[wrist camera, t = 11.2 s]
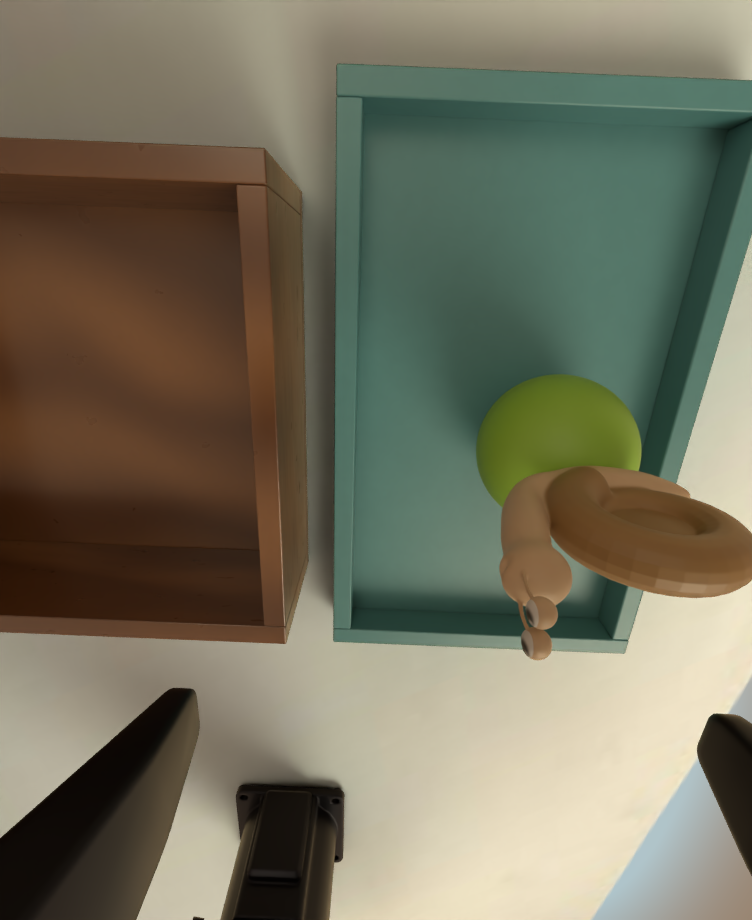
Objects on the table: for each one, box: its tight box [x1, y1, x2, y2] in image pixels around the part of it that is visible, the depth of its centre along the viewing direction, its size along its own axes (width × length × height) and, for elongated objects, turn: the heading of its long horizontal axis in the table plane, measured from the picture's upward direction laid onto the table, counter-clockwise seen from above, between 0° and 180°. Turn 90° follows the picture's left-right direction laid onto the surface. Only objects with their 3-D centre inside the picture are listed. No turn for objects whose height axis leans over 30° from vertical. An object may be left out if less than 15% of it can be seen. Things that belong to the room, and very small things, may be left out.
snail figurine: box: [476, 374, 752, 660], centre depth 13 cm, size 5×6×12 cm
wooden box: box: [0, 137, 309, 644], centre depth 16 cm, size 16×17×5 cm
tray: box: [333, 63, 752, 654], centre depth 18 cm, size 22×14×2 cm, turn 178°
